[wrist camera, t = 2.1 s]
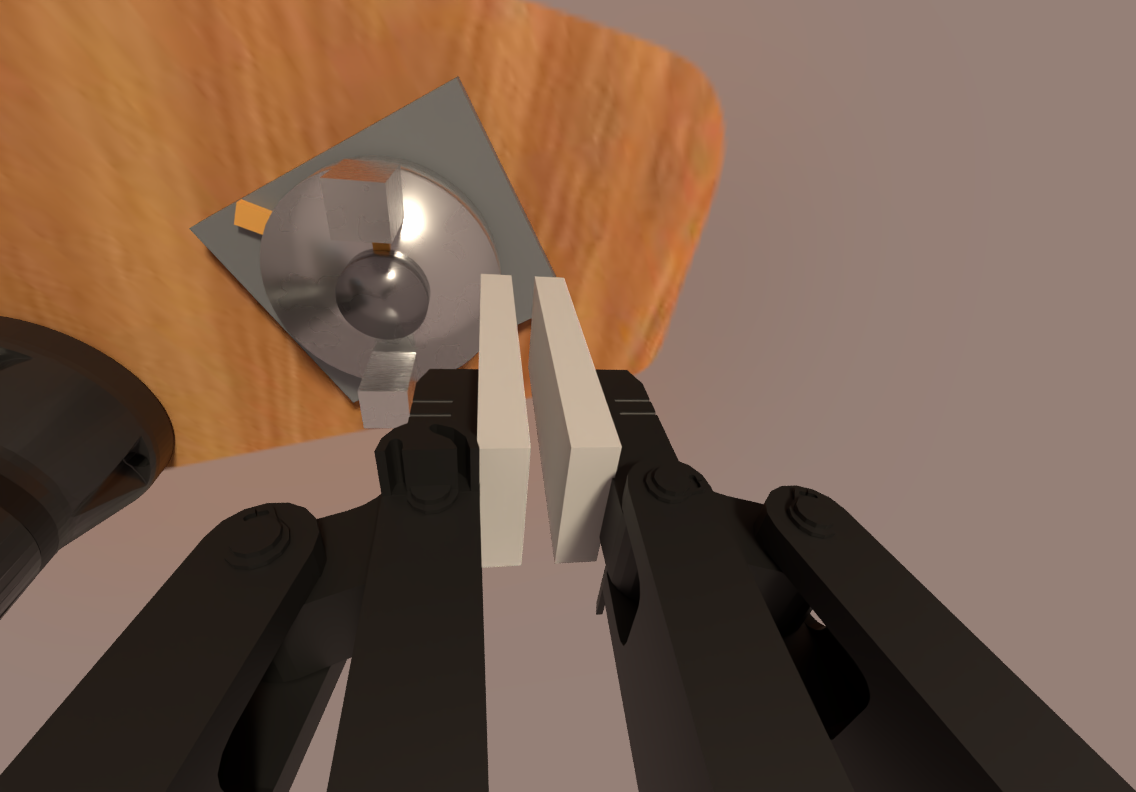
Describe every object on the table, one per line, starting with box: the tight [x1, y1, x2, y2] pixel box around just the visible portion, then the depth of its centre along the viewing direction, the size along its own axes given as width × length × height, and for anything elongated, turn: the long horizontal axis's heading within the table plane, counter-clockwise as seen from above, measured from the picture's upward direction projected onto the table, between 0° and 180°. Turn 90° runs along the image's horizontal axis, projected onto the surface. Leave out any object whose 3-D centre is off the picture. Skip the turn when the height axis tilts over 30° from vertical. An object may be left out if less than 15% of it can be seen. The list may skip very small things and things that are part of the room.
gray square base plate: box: [189, 77, 556, 403], centre depth 28 cm, size 16×13×3 cm
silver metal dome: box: [260, 155, 501, 428], centre depth 25 cm, size 12×12×7 cm
